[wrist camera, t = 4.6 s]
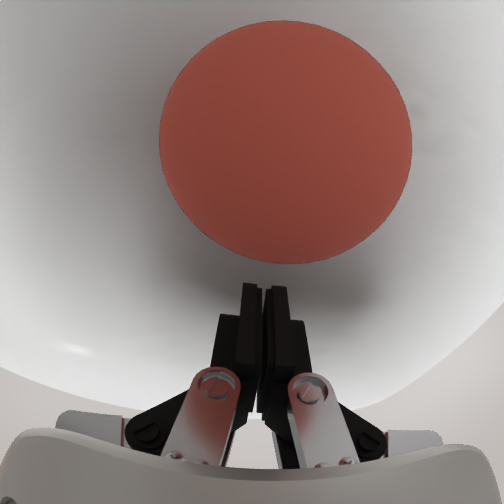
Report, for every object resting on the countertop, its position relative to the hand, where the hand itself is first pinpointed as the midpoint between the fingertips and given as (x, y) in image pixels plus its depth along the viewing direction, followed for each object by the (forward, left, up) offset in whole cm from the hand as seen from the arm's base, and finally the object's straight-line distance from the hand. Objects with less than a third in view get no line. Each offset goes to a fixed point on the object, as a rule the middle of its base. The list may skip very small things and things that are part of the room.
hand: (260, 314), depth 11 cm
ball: (-7, 0, +2) cm, 7 cm away
